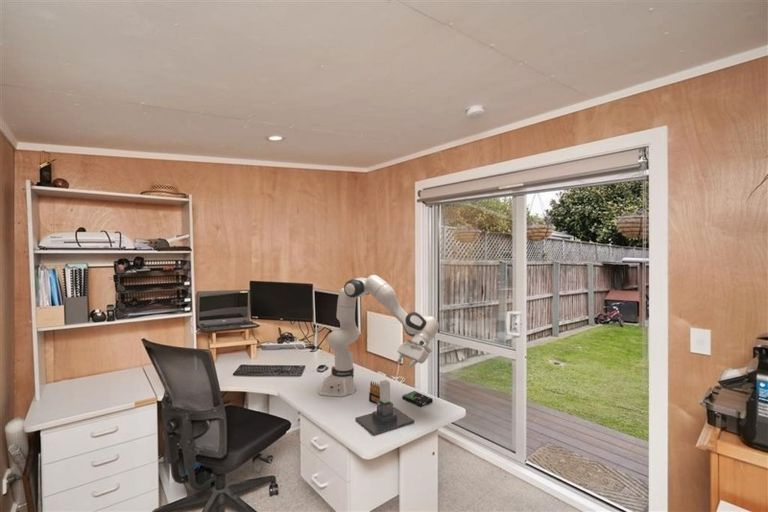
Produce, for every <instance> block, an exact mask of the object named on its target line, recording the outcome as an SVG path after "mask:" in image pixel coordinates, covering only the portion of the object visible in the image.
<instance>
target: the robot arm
mask: <svg viewBox="0 0 768 512" xmlns="http://www.w3.org/2000/svg"><path fill="white" fill-rule="evenodd" d="M338 293H339V294H338V297H337V304H336V319H337V320H338V321H339V325H340V326H339V328H337V329H334V330H333V331H331V332H330V333H329V334H328V335H327V341H326V342H327V344H328V346H329V347H330V348H332V351H333V354H334V356H333V357H334V366H332V367H331V374H329V375H328V376H326V377H325V378H324V380H323V381H322V385H321V386H320V387H319V388H318V391H317V393H318V395H319V396H325V397H326V396H327V397H339V398H340V397H343V398H344V397H346V396H348V395H352V394H355V392H357V391H356V386H355V381H354V380H355V379H354V376H355V370H354V368H355V367H354V355H353V353H352V352H351V351H350V348H349V345H351V344H352V343H354V342H357V340H358V339H359V338H360V334H361V333H360V329H359V328H358V326H357V324H356V305H357V304H356V303H357V298H360V297H364V296H367V295H369V294H371V296H372V297H373V298H375V300H377V302H379V303H380V304H381V305H382V306H384V308H386V309H387V310H388V311H389V312H390V313H391V314H392V315H393V316H394V317H395V318H396V319H397V320H398V321H399V322H400V324H402V327H403V329H404V331H405V333H406V334H407V335H408V336H409V337H412V338H411V339H408V340H407V339H406V340H405V341H404V342H403V343H402V344H400V346H399V347H398V348H397V351H396V352H397V353H398V359H397V361H396V362H398V364H401V363H402V362H403V360H402V359H403V358H404V357H405V358H407V359H410V360H411V362H409V363H408V364H407V368H409V369H412V368H413V366H415V365H417V363H419V365H420V364H421V365H422V364H424V363H425V362H426V360H428V358H429V355H430V354H431V353H432V352H433V350H432V348H431V347H430V346H429V344H430V342H431V341H432V339H433V338H434V337H435V336H436V335H437V332H438V331H439V329H440V323H439V321H438V320H437V318H436V317H434V316H432V315H424V314H420V313H419V312H415V311H414V312H413V311H412V312H409V313H407V312H406V310H405V309H404V308H403V307H402V306H401V304H400V302H399V300H398V298H397V294H396V292H395V290H394V289H393V287H392V286H391V285H390V284H389V283H388V282H387V281H385V279H383V278H382V277H380V276H378V275H377V274H371V275H369V276H368V277H366V276H364V277H356V278H353V279H352V278H351V279H349V280H347V281H346V282H345V284H344V285H343V287H341V288H340V290H339V292H338Z"/></svg>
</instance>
